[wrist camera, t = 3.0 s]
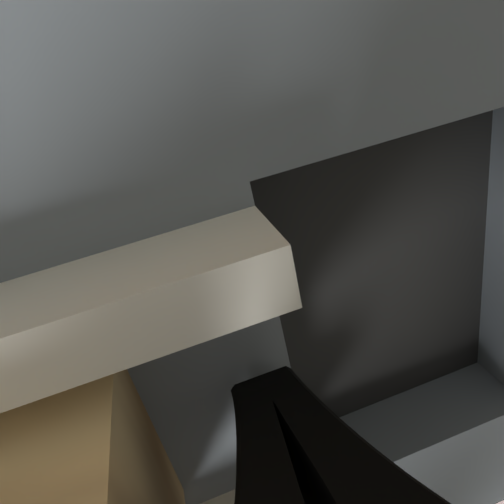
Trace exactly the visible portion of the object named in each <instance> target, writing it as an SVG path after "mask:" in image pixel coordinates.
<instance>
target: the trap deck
mask: <svg viewBox="0 0 504 504" xmlns="http://www.w3.org/2000/svg"><path fill="white" fill-rule="evenodd" d="M284 366H287V367H289V368H291V369H292V370H293V371H294V373H295V374H296V375H297V376H298V377H299V378H300V379H301V381H302V382H303V383H304V384H305V385H306V386H307V387H308V388H309V389H310V390H311V391H312V392H313V393H314V394H315V395H316V396H317V397H318V398H319V399H320V400H321V401H322V402H323V403H324V404H325V405H326V406H327V407H328V408H329V409H330V410H332V411H333V412H334V413H335V414H336V415H337V416H338V417H339V418H340V419H342V420H343V421H344V422H345V423H346V424H347V425H348V426H350V427H351V428H352V429H353V430H354V431H355V432H357V433H358V434H359V435H360V436H361V437H362V438H364V439H365V440H366V441H367V442H368V443H370V444H371V445H372V446H373V447H374V448H376V449H377V450H378V451H380V452H381V453H382V454H383V455H385V456H386V457H387V458H389V459H390V460H391V461H392V462H394V463H395V464H396V465H398V466H399V467H400V468H402V469H403V470H404V471H406V472H407V473H408V474H410V475H411V476H412V477H414V478H415V479H417V480H418V481H419V482H421V483H422V484H423V485H425V486H426V487H428V488H429V489H431V490H432V491H434V492H435V493H437V494H438V495H439V496H441V497H442V498H444V499H445V500H447V501H448V502H450V503H451V504H496V503H498V502H500V501H502V500H504V0H0V413H3V412H6V411H8V410H11V409H14V408H17V407H20V406H23V405H26V404H28V403H31V402H34V401H37V400H40V399H43V398H46V397H48V396H51V395H54V394H57V393H60V392H63V391H66V390H69V389H71V388H74V387H77V386H80V385H83V384H86V383H89V382H91V381H94V380H97V379H100V378H103V377H106V376H109V375H111V374H114V373H117V372H120V371H123V370H126V369H127V370H128V373H129V375H130V377H131V379H132V381H133V383H134V385H135V387H136V390H137V392H138V394H139V396H140V398H141V400H142V402H143V404H144V407H145V409H146V411H147V413H148V415H149V417H150V419H151V421H152V424H153V426H154V428H155V430H156V432H157V434H158V436H159V438H160V440H161V443H162V445H163V447H164V449H165V451H166V453H167V455H168V457H169V460H170V462H171V464H172V466H173V468H174V470H175V472H176V474H177V477H178V479H179V481H180V483H181V485H182V487H183V489H184V497H185V504H234V502H235V488H236V421H235V410H234V403H233V398H232V394H231V389H232V387H233V386H234V385H235V384H238V383H240V382H243V381H246V380H248V379H251V378H254V377H257V376H259V375H262V374H265V373H267V372H270V371H273V370H276V369H278V368H281V367H284Z"/></svg>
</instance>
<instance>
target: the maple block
mask: <svg viewBox="0 0 504 504" xmlns="http://www.w3.org/2000/svg"><path fill="white" fill-rule="evenodd" d="M0 504H185V497H184V489H183V487H182V485H181V483H180V481H179V479H178V477H177V474H176V472H175V470H174V468H173V466H172V464H171V462H170V460H169V457H168V455H167V453H166V451H165V449H164V447H163V445H162V443H161V440H160V438H159V436H158V434H157V432H156V430H155V428H154V426H153V424H152V421H151V419H150V417H149V415H148V413H147V411H146V409H145V407H144V404H143V402H142V400H141V398H140V396H139V394H138V392H137V390H136V387H135V385H134V383H133V381H132V379H131V377H130V375H129V373H128V370H127V369H126V370H123V371H120V372H117V373H114V374H111V375H109V376H106V377H103V378H100V379H97V380H94V381H91V382H89V383H86V384H83V385H80V386H77V387H74V388H71V389H69V390H66V391H63V392H60V393H57V394H54V395H51V396H48V397H46V398H43V399H40V400H37V401H34V402H31V403H28V404H26V405H23V406H20V407H17V408H14V409H11V410H8V411H6V412H3V413H0Z"/></svg>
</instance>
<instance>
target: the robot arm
mask: <svg viewBox="0 0 504 504" xmlns="http://www.w3.org/2000/svg"><path fill="white" fill-rule="evenodd" d="M231 394H232V398H233V403H234V410H235V421H236V488H235V502H234V504H451V503H450V502H448V501H447V500H445V499H444V498H442V497H441V496H439V495H438V494H437V493H435V492H434V491H432V490H431V489H429V488H428V487H426V486H425V485H423V484H422V483H421V482H419V481H418V480H417V479H415V478H414V477H412V476H411V475H410V474H408V473H407V472H406V471H404V470H403V469H402V468H400V467H399V466H398V465H396V464H395V463H394V462H392V461H391V460H390V459H389V458H387V457H386V456H385V455H383V454H382V453H381V452H380V451H378V450H377V449H376V448H374V447H373V446H372V445H371V444H370V443H368V442H367V441H366V440H365V439H364V438H362V437H361V436H360V435H359V434H358V433H357V432H355V431H354V430H353V429H352V428H351V427H350V426H348V425H347V424H346V423H345V422H344V421H343V420H342V419H340V418H339V417H338V416H337V415H336V414H335V413H334V412H333V411H332V410H330V409H329V408H328V407H327V406H326V405H325V404H324V403H323V402H322V401H321V400H320V399H319V398H318V397H317V396H316V395H315V394H314V393H313V392H312V391H311V390H310V389H309V388H308V387H307V386H306V385H305V384H304V383H303V382H302V381H301V379H300V378H299V377H298V376H297V375H296V374H295V373H294V371H293V370H292V369H291V368H289V367H287V366H284V367H281V368H278V369H276V370H273V371H270V372H267V373H265V374H262V375H259V376H257V377H254V378H251V379H248V380H246V381H243V382H240V383H238V384H235V385H234V386H233V387H232V389H231Z"/></svg>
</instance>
